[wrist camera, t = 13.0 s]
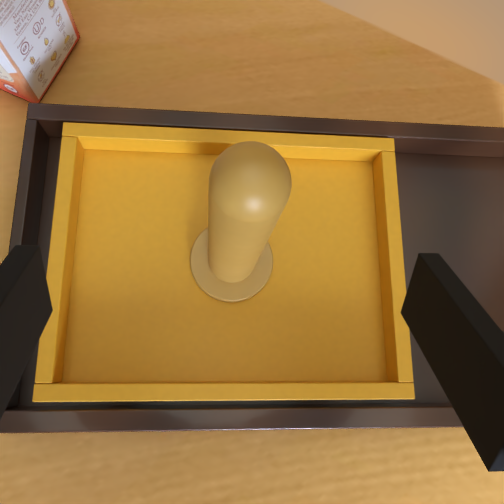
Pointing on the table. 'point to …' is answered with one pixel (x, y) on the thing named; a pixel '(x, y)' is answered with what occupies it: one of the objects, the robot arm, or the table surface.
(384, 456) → the table surface
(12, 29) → the cracker box
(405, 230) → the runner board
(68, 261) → the tray
